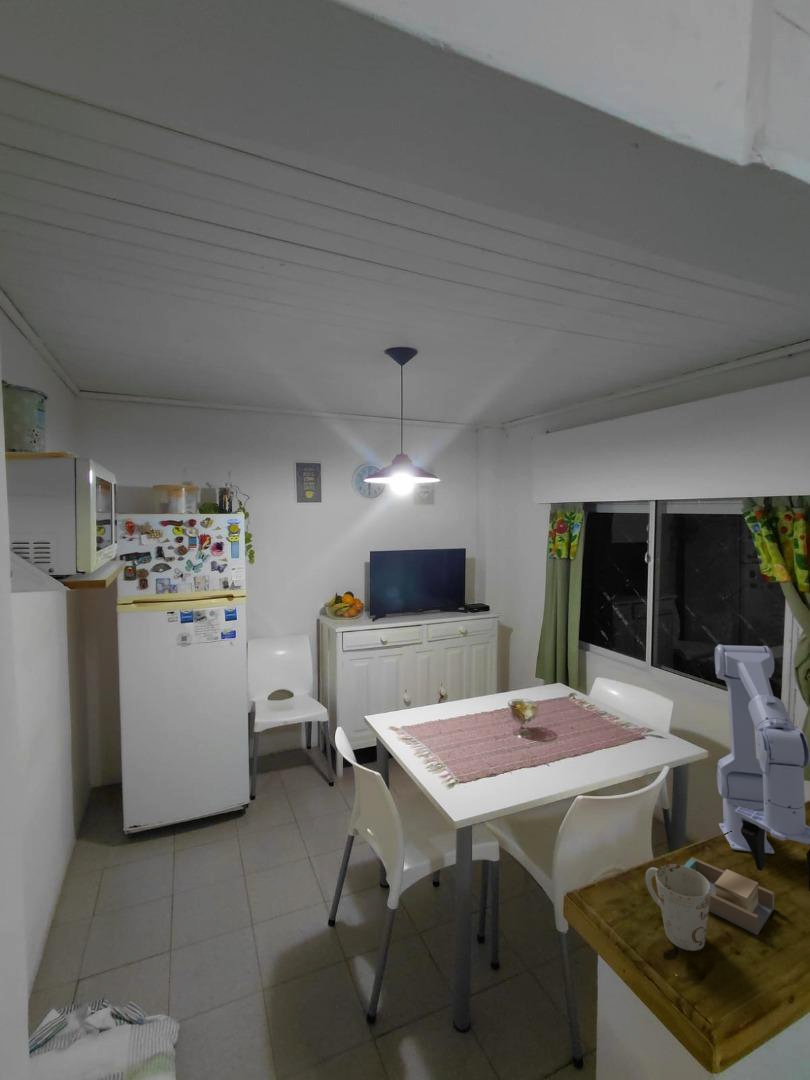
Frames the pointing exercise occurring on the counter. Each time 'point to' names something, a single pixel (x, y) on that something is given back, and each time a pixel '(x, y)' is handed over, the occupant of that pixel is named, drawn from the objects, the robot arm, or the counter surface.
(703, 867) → the bay
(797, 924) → the counter surface
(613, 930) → the counter surface
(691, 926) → the mug
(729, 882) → the tan wooden block
